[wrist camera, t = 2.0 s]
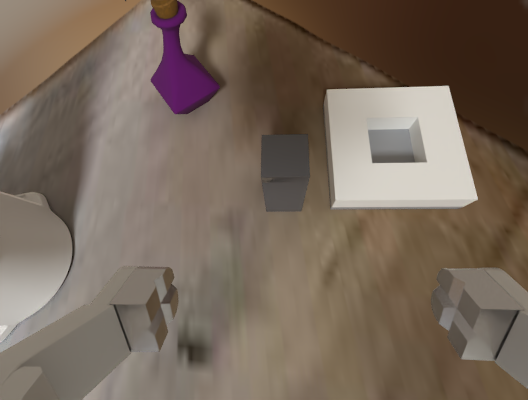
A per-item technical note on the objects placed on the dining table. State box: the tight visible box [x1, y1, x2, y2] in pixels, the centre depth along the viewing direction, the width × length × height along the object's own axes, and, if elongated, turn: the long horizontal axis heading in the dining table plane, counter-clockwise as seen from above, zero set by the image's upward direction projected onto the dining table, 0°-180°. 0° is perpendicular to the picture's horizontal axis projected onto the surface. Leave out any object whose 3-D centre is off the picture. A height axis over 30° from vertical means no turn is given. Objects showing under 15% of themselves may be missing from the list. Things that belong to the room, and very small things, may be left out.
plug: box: [261, 134, 310, 212], centre depth 32 cm, size 4×4×11 cm
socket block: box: [323, 86, 478, 209], centre depth 36 cm, size 16×16×4 cm
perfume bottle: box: [125, 0, 220, 114], centre depth 34 cm, size 8×8×18 cm
